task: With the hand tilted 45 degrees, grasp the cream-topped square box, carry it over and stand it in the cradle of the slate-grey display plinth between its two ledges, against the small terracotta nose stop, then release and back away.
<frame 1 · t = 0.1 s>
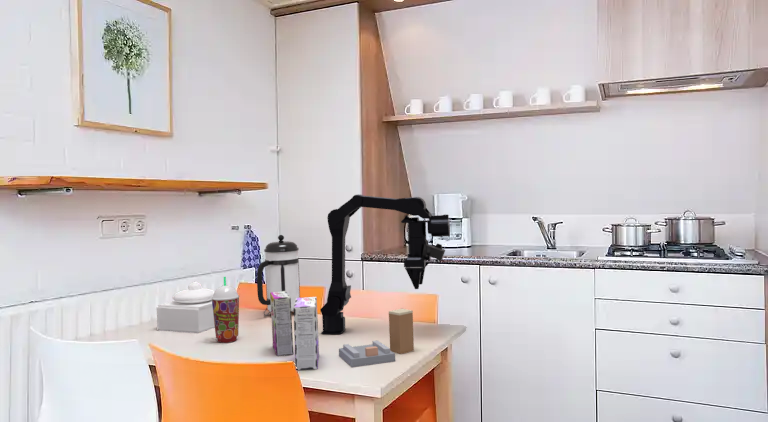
hand: (418, 286, 186), 15 cm above the table, tool pointing down, fingers open, 9 cm apart
candy box: (307, 363, 158), on the table
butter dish: (195, 327, 208), on the table
display plinth: (366, 358, 159), on the table
cream-topped square box: (402, 351, 166), on the table
candy bar box: (282, 351, 170), on the table
coffee press: (282, 315, 223), on the table
smoothie: (227, 341, 185), on the table
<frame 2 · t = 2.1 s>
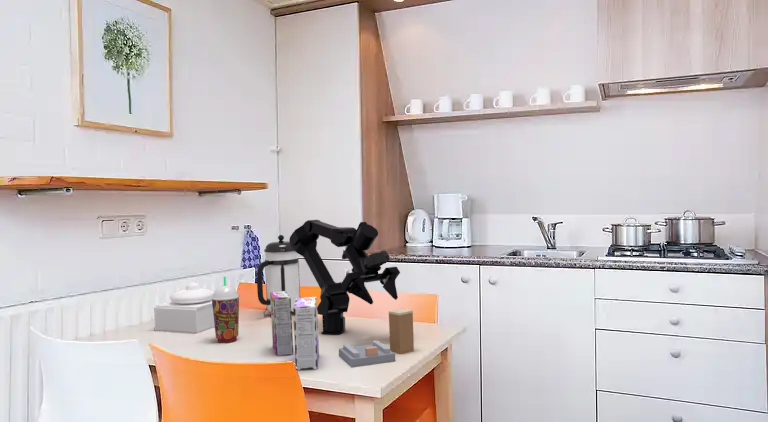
hand: (384, 301, 171), 13 cm above the table, tool tilted 45°, fingers open, 9 cm apart
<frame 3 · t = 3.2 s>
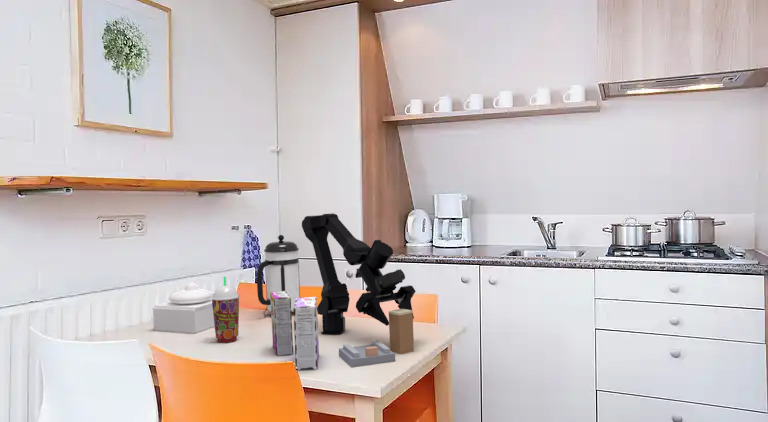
hand: (400, 321, 166), 8 cm above the table, tool tilted 45°, fingers open, 9 cm apart
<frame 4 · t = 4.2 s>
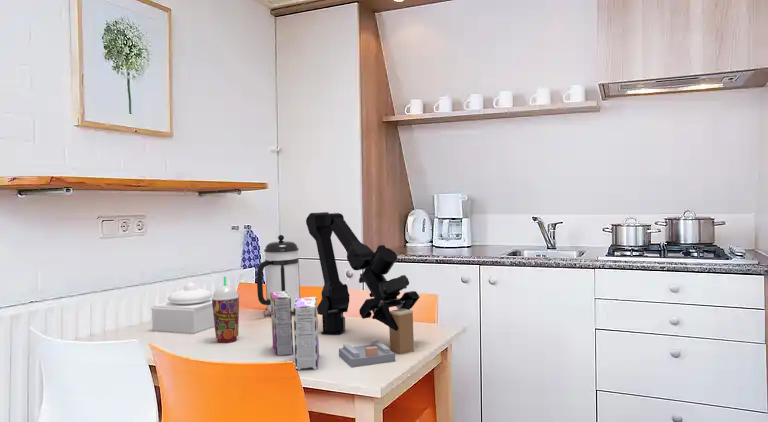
hand: (404, 328, 164), 7 cm above the table, tool tilted 45°, fingers closed on cream-topped square box, 5 cm apart
cream-topped square box: (402, 351, 166), on the table, touching gripper
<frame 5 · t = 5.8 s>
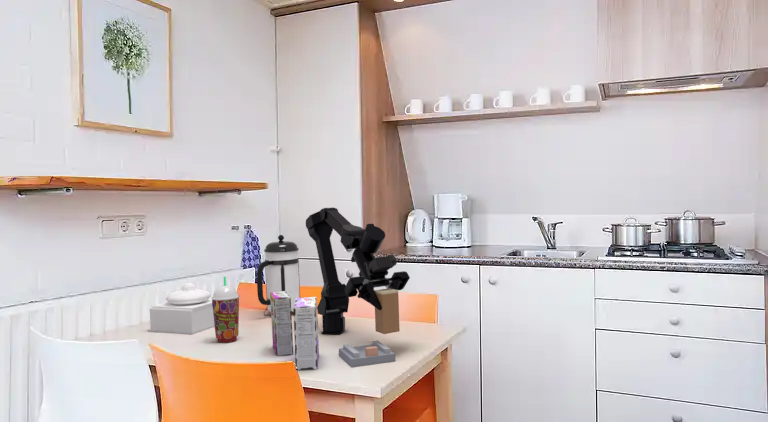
hand: (389, 308, 161), 13 cm above the table, tool tilted 45°, fingers closed on cream-topped square box, 5 cm apart
cream-topped square box: (387, 331, 162), point 6 cm above the table, touching gripper
when the fingers open (9 cm above the table, at t = 7.5 s): cream-topped square box stays where it is, resting on display plinth.
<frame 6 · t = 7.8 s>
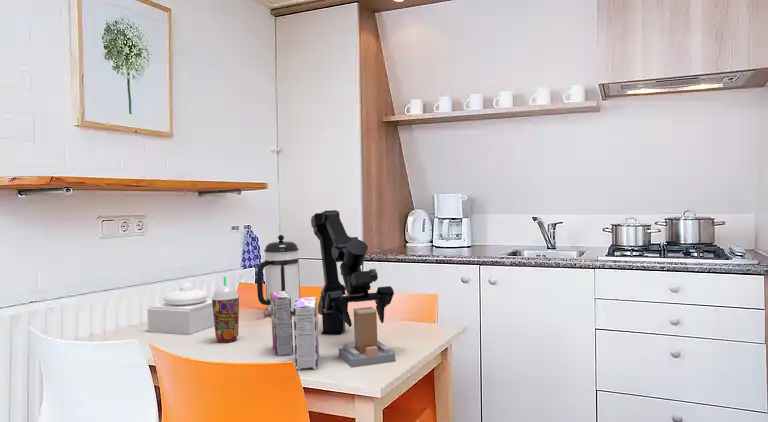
hand: (366, 324, 158), 10 cm above the table, tool tilted 45°, fingers open, 9 cm apart
cream-topped square box: (366, 351, 159), point 2 cm above the table, touching display plinth
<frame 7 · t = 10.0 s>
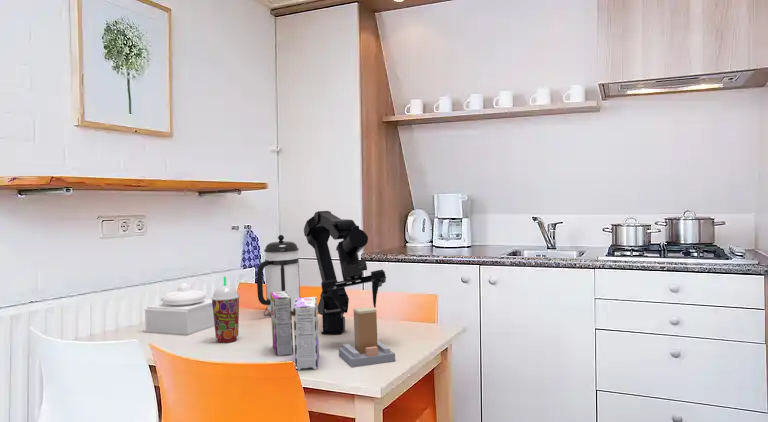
hand: (359, 310, 170), 11 cm above the table, tool tilted 25°, fingers open, 9 cm apart
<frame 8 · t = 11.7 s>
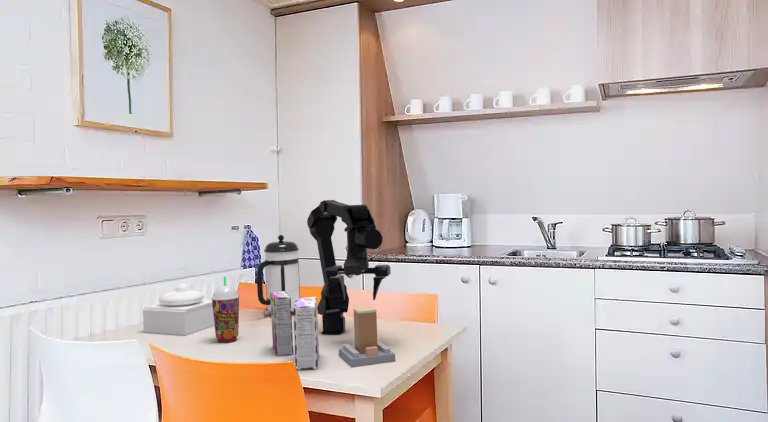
hand: (358, 299, 175), 13 cm above the table, tool pointing down, fingers open, 9 cm apart
at the end: cream-topped square box inside the target area on the display plinth (0.0 cm from its centre), point 2.0 cm above the display plinth's base; cream-topped square box tilted 0°; the gripper is holding nothing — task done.
